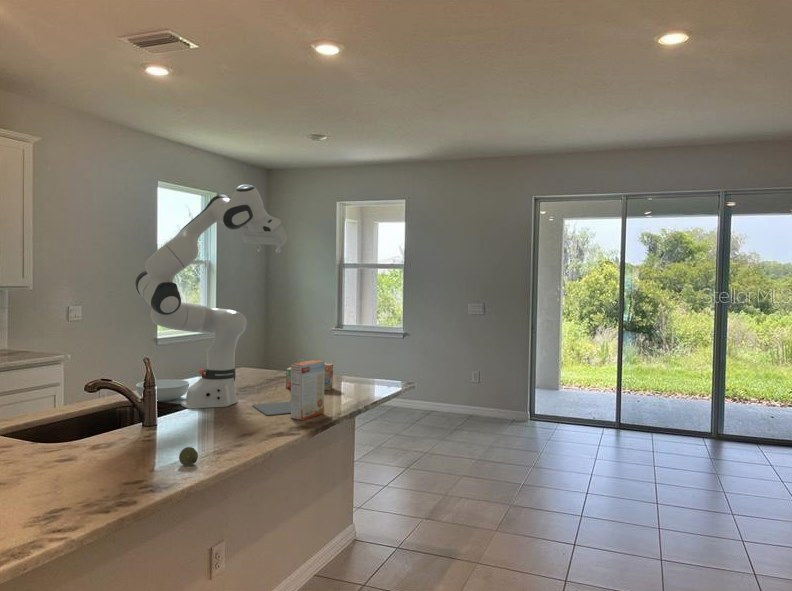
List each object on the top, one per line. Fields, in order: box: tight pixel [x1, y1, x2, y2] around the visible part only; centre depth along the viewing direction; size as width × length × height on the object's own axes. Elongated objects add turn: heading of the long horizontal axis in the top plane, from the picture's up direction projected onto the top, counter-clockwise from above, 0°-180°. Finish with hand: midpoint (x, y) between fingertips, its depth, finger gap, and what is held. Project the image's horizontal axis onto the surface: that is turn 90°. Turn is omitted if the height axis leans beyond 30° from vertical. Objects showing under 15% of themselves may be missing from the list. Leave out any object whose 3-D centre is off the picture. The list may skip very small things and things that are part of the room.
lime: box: [178, 446, 199, 467], centre depth 166 cm, size 4×5×5 cm
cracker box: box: [289, 359, 326, 421], centre depth 226 cm, size 14×6×21 cm, turn 149°
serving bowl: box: [135, 378, 190, 403], centre depth 247 cm, size 21×21×7 cm
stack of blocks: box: [285, 362, 334, 391], centre depth 280 cm, size 21×6×12 cm, turn 84°
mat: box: [252, 401, 291, 417], centre depth 237 cm, size 20×18×1 cm
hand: (269, 251), depth 240 cm, fingers open, 8 cm apart
